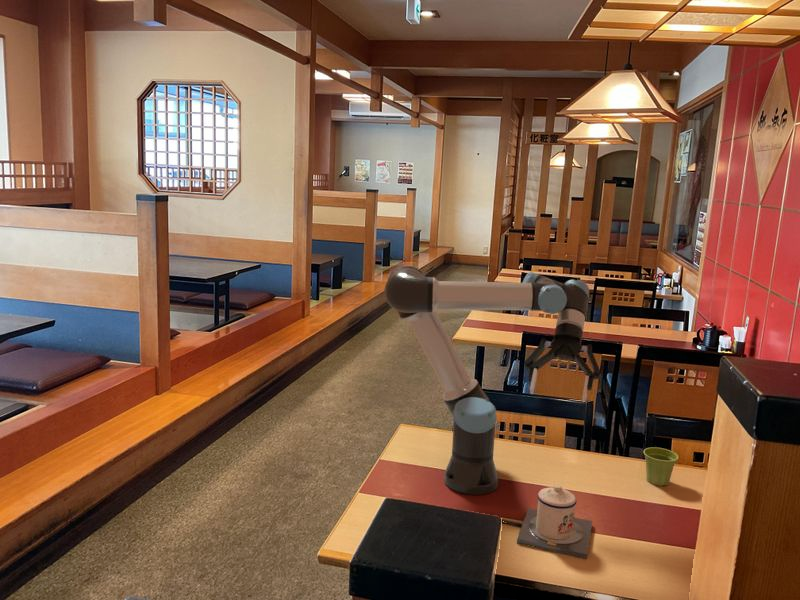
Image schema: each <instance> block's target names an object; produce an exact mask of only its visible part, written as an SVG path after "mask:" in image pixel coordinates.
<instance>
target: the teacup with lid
mask: <svg viewBox="0 0 800 600" xmlns="http://www.w3.org/2000/svg"><path fill="white" fill-rule="evenodd" d="M537 500H538V501H537V509H536V510H537V522H536V529H537V531H538V532H539V533H540V534H541V535H543V536H545V537H547V538H550V539H555V540H563V539H567V538H569V537H570V536H571V535H572V533H573V522H574V517H575V510H576V505H577V497H575V495H574V494H573V493H572V492H570V491H568V490H567V489H565V488H564V489H563V486H562V485H560V484H554V485H553V486H551V487H545V488H541V490H539V492H538V493H537Z"/></svg>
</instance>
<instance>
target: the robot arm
mask: <svg viewBox="0 0 800 600" xmlns="http://www.w3.org/2000/svg"><path fill="white" fill-rule="evenodd" d="M589 297H590V288H589V286H588V284H587V283H586V282H584V281H583V280H580V279H577V280H576V279H569V280H567V281H565V282H564V283H563V282H559V281H557V280H555V279H551V278H549V277H547V276H544V275H542V274H541V273H535V272H532V271H531V272H527V273H526V275H525V277H524V278H523V280H522V282H507V281H505V282H503V281H502V282H501V281H499V282H498V281H493V282H492V281H453V280H451V281H450V280H448V281H447V280H446V281H445V280H443V281H442V280H438V279H436V277H431V276H430V277H429V276H426V275H425V273H424V272H423V271H422V270H420V269H419V268H418V267H415V266H412V265H403V266H400V267H397V268H396V269H394V270H392V271H391V272H390V274H389V276H388V277H387V280H386V283H385V286H384V298H385V300H386V302H387V304H388V305H389V306H390V308H392V309H393V310H395V311H396V312H397V314H398V316H399V317H400V318H399V319H401V320H402V321H406V322H408V323H409V324H408V325H410V328H411V329H412V331H413V333H414V335H415V337H416V339H417V341H418V342H419V345H420V347H421V349H422V350H423V352H424V354H425V356H426V358H427V360H428V362H429V364H430V366H431V368H432V369H433V372H434V373H435V375H436V377H437V379H438V381H439V383H440V384H441V387H442V388H443V390H444V392H443V395H442V399H443V401H444V403H445V405H446V407H447V409H448V411H449V413H450V415H451V417H452V446H451V448H452V450H451V456H450V459H449V460H448V461H449V462H448V464H447V466H446V469H445V471H444V477H443V478H444V479H443V480H444V484H445V485H446V487H448V488H449V489H450V490H452V491H455V492H457V493H461V494H465V495H474V496H477V495H486V494H489V493H492V492H494V491H496V489H497V488H498V483H499V476H498V472H497V468H496V465H495V462H494V461H495V460H494V449H495V433H496V423H497V419H498V418H497V409H496V406H495V405H494V404H493V403H492V402H491V401H490V399H489V397H488V396H487V394H486V393H485V392H484V390H483V389H482V387H481V385H480V384H479V381H478V380H477V379H475V378H472V377H470V375H469V373H468V371H467V369H466V368H465V366H464V364H463V361H462V359H461V357H460V356H459V353H458V351H457V350H456V347H455V346H454V344H453V343H452V339H451V338H450V337H449V335H448V333H447V331H446V329H445V326H444V324H443V322H442V321H441V319H440V317H439V315H438V313H437V310H477V311H478V310H480V311H481V310H484V311H486V310H487V311H490V310H491V311H531V312H536V311H537V312H544V313H547V314H551V315H554V314H557V319H556V323H555V330H554V334H553V339H552V341H550V340H549V341H548V340H547V339H546V338H541V340H540V342H539V345H538V346H537V347H536V348H535V349H534V350H533V352H532V353H531V354H530V355H529V356H528V358H527V359H525V361H524V362H523V365H524V369H525V370H528V371H529V372H528V381H529V382H530V386H529V393H530V395H534V392H535V388H536V384H537V383H536V382H537V378H538V370H539V369H541V368H542V367H543V366H545V365H546V364H547V363H549V362H551V361H552V360H554V359H556V358H558V359H561V360H562V359H565V360H568V361H571V360H573V361H574V362H575V363H576V364H577V365H578V367H579V368H580V369H581V370H582V372H583V373H584V374H585V379H584V384H583V385H584V386H583V389H582V390H583V391H582V398H581V399H582V403H586V402H587V395H588V391H592V390H593V387H594V386H593V384H594V380H601V378H602V372H601V369H600V367H599V365H598V363H597V360H596V358H595V355H594V353H593V344H591V343H588V344H587V345H582V340H583V334H584V333H583V331H584V328H585V322H586V314H587V309H588V304H589V301H590V298H589ZM549 347H550V348H551V349H549V350H548V352H546V354H544V355H542V354H543V353H544V352H545V350H547V349H548V348H549ZM582 352H583V353H584V354H585V355H587V359H588V362H589V364H590V367H591V368H590V367H589V366H588V364H587V363H586V362H585V360H584V359H583V358H582V355H580V353H582ZM540 356H541V357H540Z"/></svg>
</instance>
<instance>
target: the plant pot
mask: <svg viewBox="0 0 800 600" xmlns="http://www.w3.org/2000/svg"><path fill="white" fill-rule="evenodd" d="M642 454H643V455H644V458H645V471H646V475H645V477H646V480H647V482H649V483H650V484H652V485H653V486H659V487H661V486H668V485H669V484H670V480H671V477H672V474H673V470H674V467H675V464H676V463H677V461H678V460H679V455H678V454H677V453H676V452H674V451H672V450H670V449H667V448H662V447H657V446H654V447H647V448H645V449H644V450H643V453H642Z"/></svg>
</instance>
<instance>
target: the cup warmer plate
mask: <svg viewBox="0 0 800 600" xmlns="http://www.w3.org/2000/svg"><path fill="white" fill-rule="evenodd" d="M537 510H538V509H536V508H531V507H528V509H527V511H526V514H525V517H524V519H523V522H522V523H521V522H517V521H512V520H507V519H504V518H503V519H502V518H501V519H502V522H503V521H504V523H503V524H506V523H507V524H506V525H511V524H512V525H511V526H517V527H520V530H519V533H518V535H517V538H516V544H518V543H519V545H523V544H524V545H523V546H527V545H529V546H528V547H531V546H534V547H533V548H536V547H537V548H536V549H540V548H542V549H541V550H545V551H549V550H550V551H551V552H553V551H555V553H558V552H559V553H558V554H563V555H568V556H572V557H574V558H576V557H577V558H581V559H584V560H587V559H588V553H589V547H590V540H591V535H592V534H591V533H592V528H593V527H592V526H593V520H589V519H585V518H584V519H583V518H579V517H576V516H574V522H573V533H572V535H571V536H570V537H569V538H567V539H563V540H555V539H550V538H547V537H545V536H543V535H541V534H540V533H539V532H538V531H537V529H536V522H537ZM505 522H506V523H505Z"/></svg>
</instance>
